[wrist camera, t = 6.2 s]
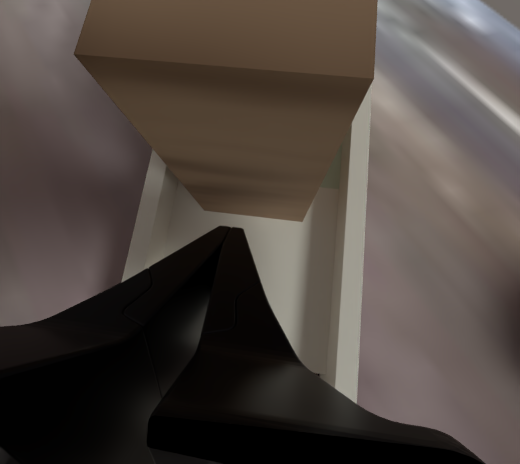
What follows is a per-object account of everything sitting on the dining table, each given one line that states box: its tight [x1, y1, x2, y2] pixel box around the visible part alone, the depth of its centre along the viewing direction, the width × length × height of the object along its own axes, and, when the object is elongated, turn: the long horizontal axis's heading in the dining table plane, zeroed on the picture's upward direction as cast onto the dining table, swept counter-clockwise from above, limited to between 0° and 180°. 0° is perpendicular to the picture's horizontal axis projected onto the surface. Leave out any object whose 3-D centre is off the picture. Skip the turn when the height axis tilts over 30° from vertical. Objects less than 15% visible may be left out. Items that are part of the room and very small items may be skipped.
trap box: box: [122, 83, 372, 404], centre depth 15 cm, size 32×12×4 cm, turn 173°
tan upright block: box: [74, 0, 377, 222], centre depth 11 cm, size 8×6×11 cm
